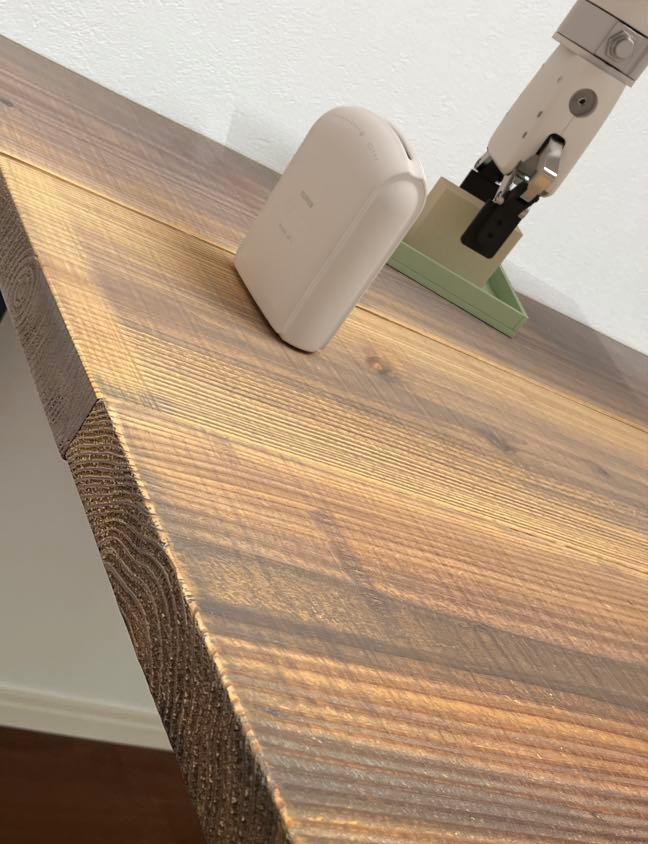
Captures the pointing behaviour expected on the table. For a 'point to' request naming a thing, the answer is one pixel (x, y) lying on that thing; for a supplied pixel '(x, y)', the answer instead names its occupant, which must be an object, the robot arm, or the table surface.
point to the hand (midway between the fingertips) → (466, 232)
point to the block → (454, 233)
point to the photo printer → (331, 224)
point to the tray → (465, 289)
